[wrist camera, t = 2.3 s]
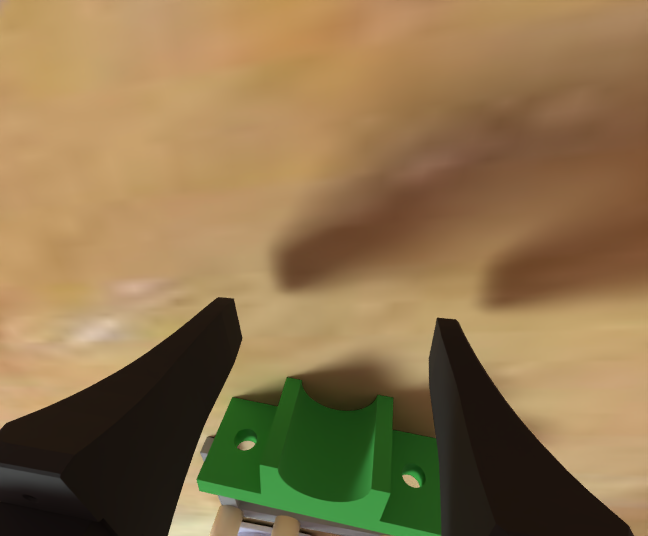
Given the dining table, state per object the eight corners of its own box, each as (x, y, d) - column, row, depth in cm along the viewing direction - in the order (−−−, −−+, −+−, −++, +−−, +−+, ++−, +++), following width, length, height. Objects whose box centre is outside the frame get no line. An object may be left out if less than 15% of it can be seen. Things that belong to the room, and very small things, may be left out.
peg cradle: (464, 542, 25) (473, 622, 22) (227, 499, 28) (204, 564, 25) (494, 481, 20) (511, 571, 17) (202, 436, 23) (170, 506, 20)
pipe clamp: (456, 404, 18) (470, 511, 14) (436, 446, 20) (444, 547, 16) (228, 363, 19) (186, 452, 15) (233, 407, 21) (198, 494, 17)
